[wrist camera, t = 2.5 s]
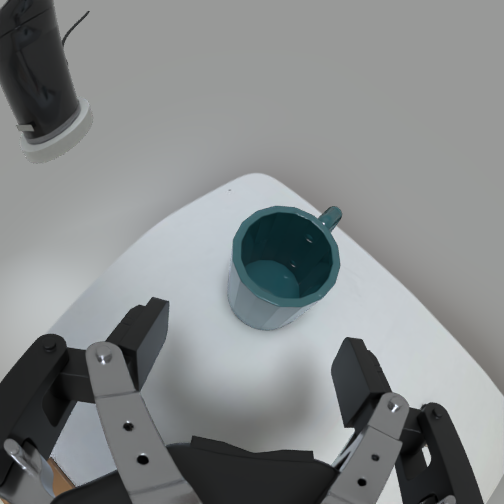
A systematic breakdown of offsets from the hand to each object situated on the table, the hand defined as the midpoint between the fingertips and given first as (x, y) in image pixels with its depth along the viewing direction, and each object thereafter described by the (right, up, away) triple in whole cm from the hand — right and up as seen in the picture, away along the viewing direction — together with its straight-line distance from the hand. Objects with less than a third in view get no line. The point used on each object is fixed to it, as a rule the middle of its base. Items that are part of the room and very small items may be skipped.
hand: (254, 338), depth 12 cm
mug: (+2, +1, +12) cm, 12 cm away
